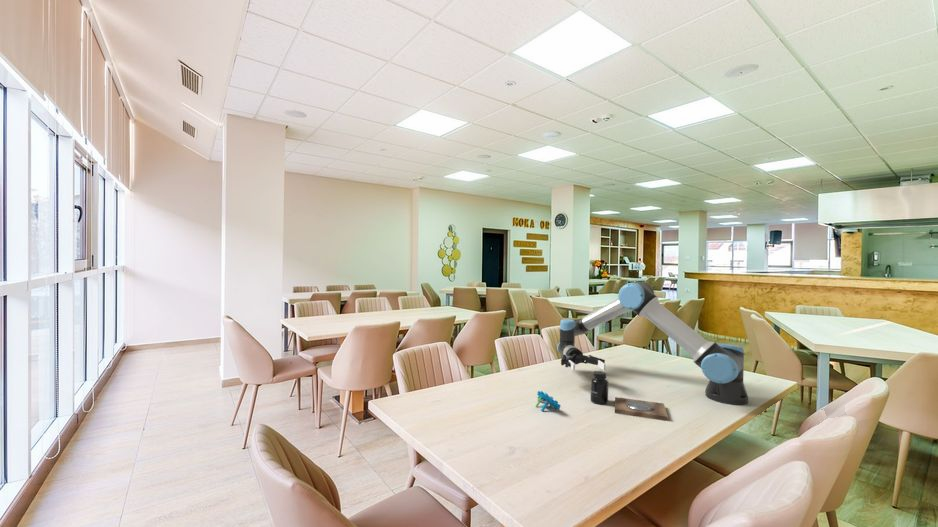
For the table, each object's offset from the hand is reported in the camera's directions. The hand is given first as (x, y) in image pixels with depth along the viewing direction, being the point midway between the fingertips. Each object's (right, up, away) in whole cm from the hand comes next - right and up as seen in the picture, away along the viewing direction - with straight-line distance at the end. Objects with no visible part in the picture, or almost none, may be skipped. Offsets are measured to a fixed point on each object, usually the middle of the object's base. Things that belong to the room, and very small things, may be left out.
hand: (589, 367), depth 167 cm
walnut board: (+14, -12, -18) cm, 26 cm away
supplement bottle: (+1, -12, -10) cm, 15 cm away
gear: (-22, -11, -18) cm, 31 cm away
